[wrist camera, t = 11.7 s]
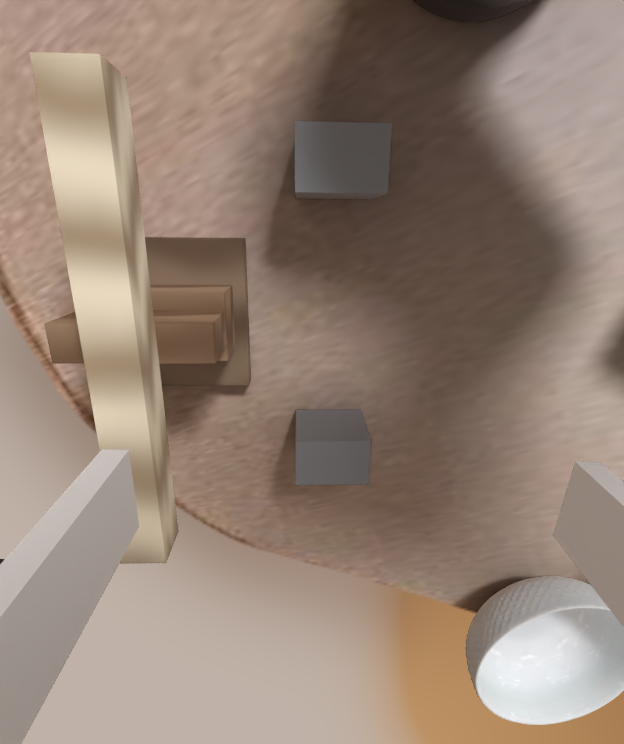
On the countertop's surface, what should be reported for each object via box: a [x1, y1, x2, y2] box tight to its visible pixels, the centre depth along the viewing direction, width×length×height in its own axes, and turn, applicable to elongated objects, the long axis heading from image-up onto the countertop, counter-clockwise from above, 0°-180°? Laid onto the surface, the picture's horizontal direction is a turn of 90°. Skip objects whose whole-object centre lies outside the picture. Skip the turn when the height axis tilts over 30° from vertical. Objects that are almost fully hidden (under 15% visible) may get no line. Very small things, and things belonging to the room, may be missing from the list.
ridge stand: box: [45, 237, 251, 385], centre depth 30 cm, size 12×12×10 cm
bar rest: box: [295, 121, 392, 485], centre depth 33 cm, size 26×6×6 cm, turn 179°
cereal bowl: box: [466, 576, 624, 725], centre depth 44 cm, size 17×17×7 cm
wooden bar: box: [29, 52, 178, 563], centre depth 24 cm, size 28×3×3 cm, turn 179°
